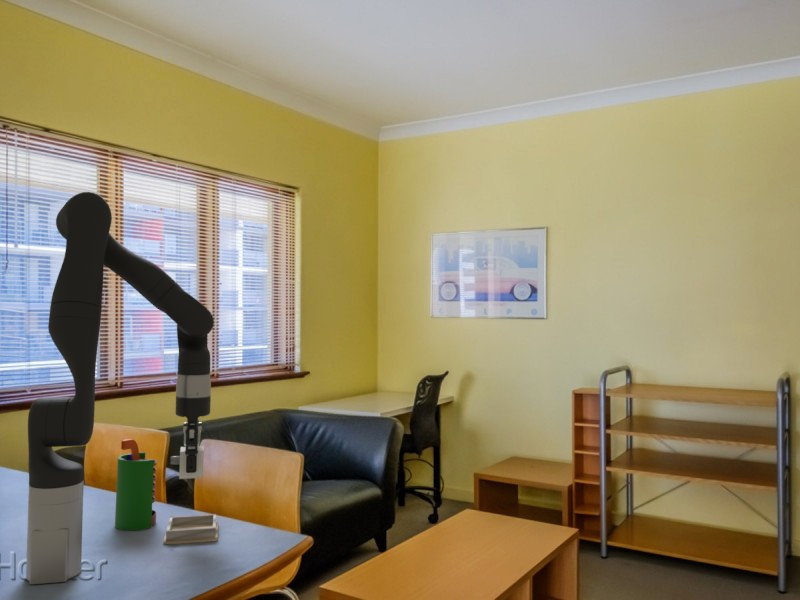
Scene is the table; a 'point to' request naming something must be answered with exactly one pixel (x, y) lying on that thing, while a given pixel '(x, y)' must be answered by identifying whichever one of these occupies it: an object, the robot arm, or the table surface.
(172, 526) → the mount pocket
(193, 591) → the table surface
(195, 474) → the cream cube on peg
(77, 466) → the robot arm
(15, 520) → the table surface
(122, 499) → the green cutaway cylinder
